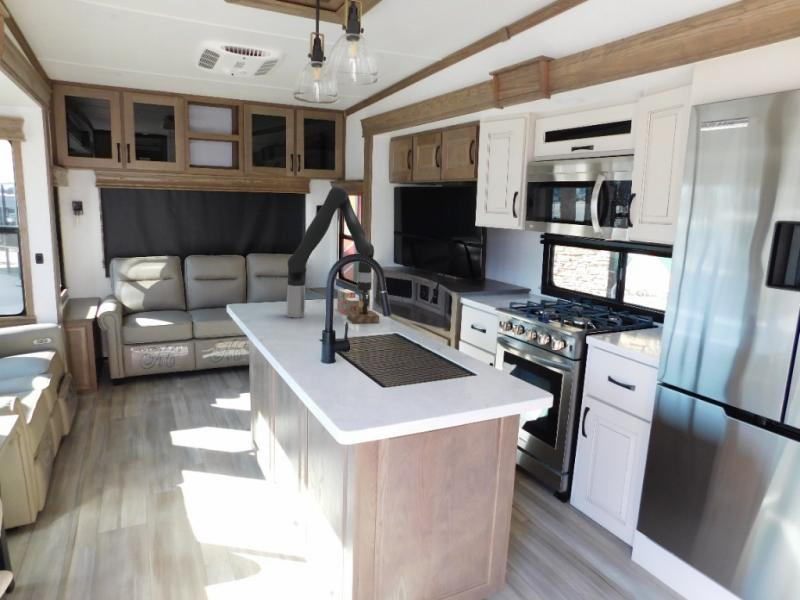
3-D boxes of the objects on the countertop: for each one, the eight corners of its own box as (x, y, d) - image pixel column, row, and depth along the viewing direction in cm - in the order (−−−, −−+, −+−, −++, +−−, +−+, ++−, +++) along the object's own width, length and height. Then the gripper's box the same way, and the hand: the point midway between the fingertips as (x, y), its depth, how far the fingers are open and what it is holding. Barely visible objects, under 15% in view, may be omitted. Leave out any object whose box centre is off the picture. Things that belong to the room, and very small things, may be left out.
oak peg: (359, 320, 289) (360, 301, 287) (357, 318, 294) (357, 300, 292) (369, 320, 291) (370, 301, 289) (366, 318, 296) (367, 299, 294)
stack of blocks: (360, 317, 302) (361, 295, 300) (349, 317, 299) (350, 295, 297) (347, 309, 321) (348, 288, 319) (337, 309, 318) (337, 289, 316)
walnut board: (352, 323, 284) (353, 316, 283) (347, 318, 297) (347, 310, 296) (378, 323, 288) (379, 315, 287) (372, 317, 301) (372, 310, 300)
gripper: (354, 278, 294) (353, 309, 297) (360, 282, 281) (359, 315, 284) (368, 278, 296) (367, 309, 299) (374, 282, 283) (373, 314, 286)
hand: (363, 312), depth 292 cm, fingers closed on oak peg, 5 cm apart
